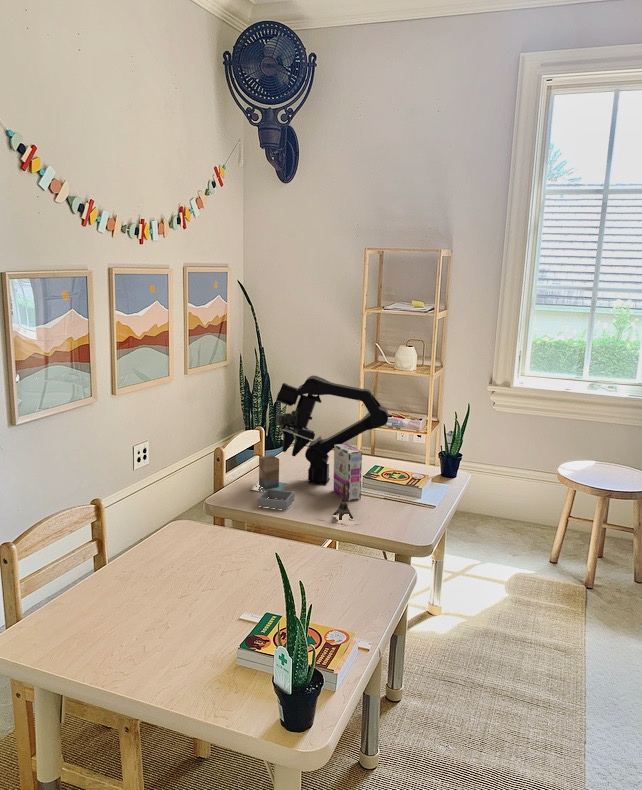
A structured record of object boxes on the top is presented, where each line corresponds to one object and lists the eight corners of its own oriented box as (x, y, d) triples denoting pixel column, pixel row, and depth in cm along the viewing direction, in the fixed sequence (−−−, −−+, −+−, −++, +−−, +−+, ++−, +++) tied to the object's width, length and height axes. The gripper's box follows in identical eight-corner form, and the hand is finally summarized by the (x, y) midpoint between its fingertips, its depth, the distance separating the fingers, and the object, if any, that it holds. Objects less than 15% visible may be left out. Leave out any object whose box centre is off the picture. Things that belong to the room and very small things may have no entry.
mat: (287, 484, 228) (287, 482, 228) (278, 493, 219) (278, 492, 219) (259, 481, 231) (259, 480, 230) (250, 490, 221) (250, 489, 221)
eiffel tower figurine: (312, 521, 199) (314, 478, 196) (325, 509, 208) (326, 469, 205) (359, 529, 193) (361, 486, 190) (370, 517, 202) (372, 476, 200)
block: (278, 487, 224) (279, 458, 222) (265, 489, 221) (266, 461, 219) (271, 482, 228) (272, 455, 226) (258, 485, 225) (259, 457, 223)
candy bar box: (361, 499, 216) (362, 451, 212) (348, 501, 214) (349, 453, 210) (345, 488, 226) (346, 442, 222) (332, 490, 223) (333, 444, 220)
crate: (294, 500, 213) (294, 491, 213) (286, 510, 204) (286, 501, 204) (267, 497, 215) (267, 488, 215) (258, 507, 206) (258, 498, 206)
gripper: (274, 401, 232) (258, 442, 231) (293, 405, 215) (276, 451, 214) (301, 411, 236) (286, 452, 235) (322, 416, 219) (306, 461, 218)
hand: (288, 453), depth 225 cm, fingers open, 9 cm apart
